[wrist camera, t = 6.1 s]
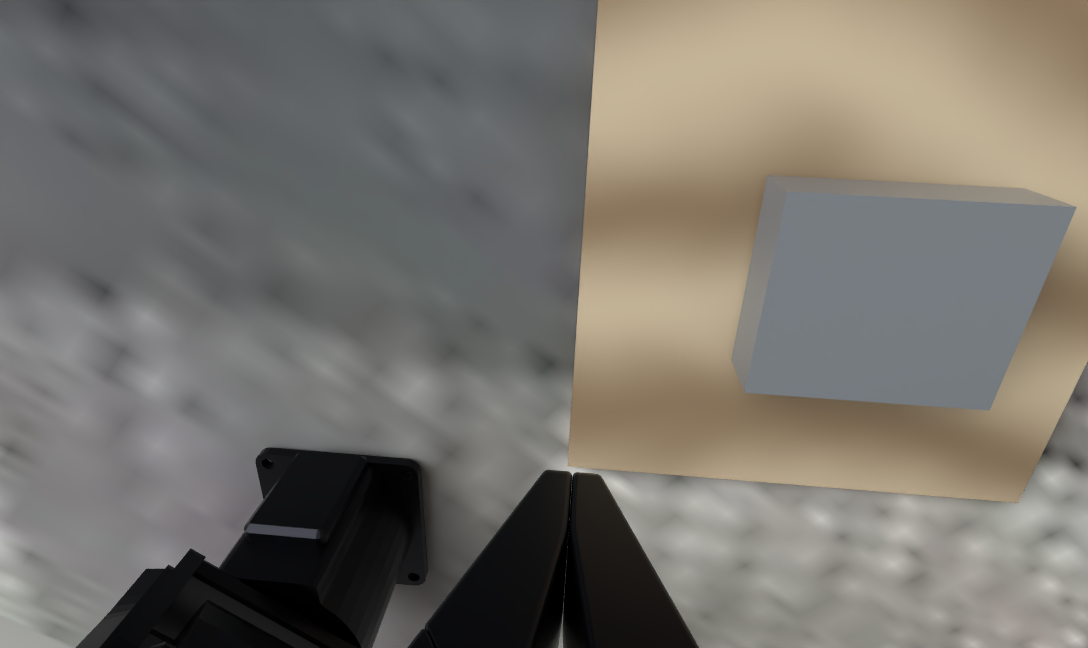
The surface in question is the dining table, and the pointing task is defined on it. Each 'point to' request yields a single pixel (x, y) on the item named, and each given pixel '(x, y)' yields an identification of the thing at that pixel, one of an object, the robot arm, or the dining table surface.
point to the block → (892, 289)
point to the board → (823, 152)
